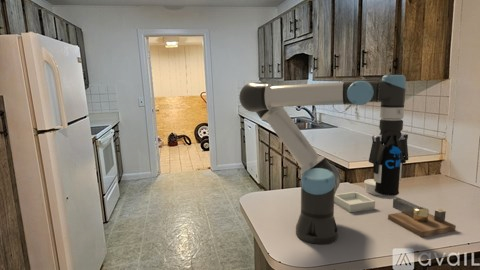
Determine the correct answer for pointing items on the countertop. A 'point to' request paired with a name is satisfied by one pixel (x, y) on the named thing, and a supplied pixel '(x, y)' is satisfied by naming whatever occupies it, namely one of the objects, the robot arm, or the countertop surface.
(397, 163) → the aerosol can
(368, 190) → the ramekin
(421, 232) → the crank base
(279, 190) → the countertop surface
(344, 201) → the tray
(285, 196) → the countertop surface
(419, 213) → the crank lever
